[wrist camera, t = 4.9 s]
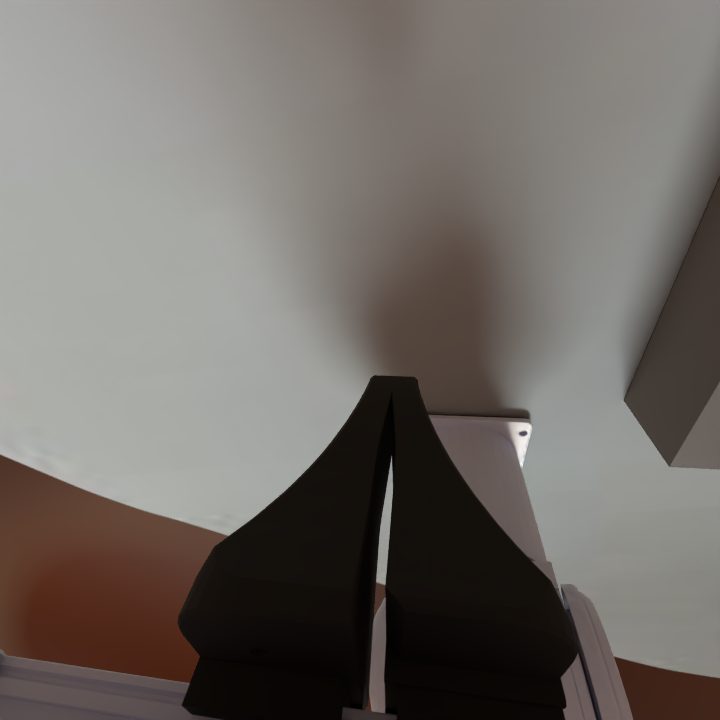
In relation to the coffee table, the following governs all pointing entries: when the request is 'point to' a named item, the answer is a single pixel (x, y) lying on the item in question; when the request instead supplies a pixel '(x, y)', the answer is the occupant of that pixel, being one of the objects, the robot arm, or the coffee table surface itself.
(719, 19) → the coffee table surface
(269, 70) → the coffee table surface
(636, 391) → the key panel
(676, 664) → the coffee table surface
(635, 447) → the coffee table surface
